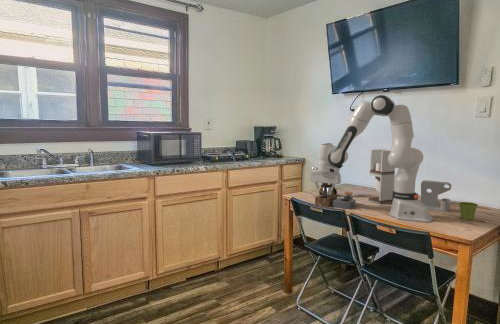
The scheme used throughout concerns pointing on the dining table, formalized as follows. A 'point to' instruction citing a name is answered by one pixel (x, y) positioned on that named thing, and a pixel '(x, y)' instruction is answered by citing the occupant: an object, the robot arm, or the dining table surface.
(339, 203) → the socket block
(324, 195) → the drill bit
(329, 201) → the bit rack
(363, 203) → the dining table surface
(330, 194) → the racked bit
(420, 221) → the robot arm
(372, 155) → the display case
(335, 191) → the power drill
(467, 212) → the plant pot
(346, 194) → the release key
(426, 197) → the grey mounting bracket
